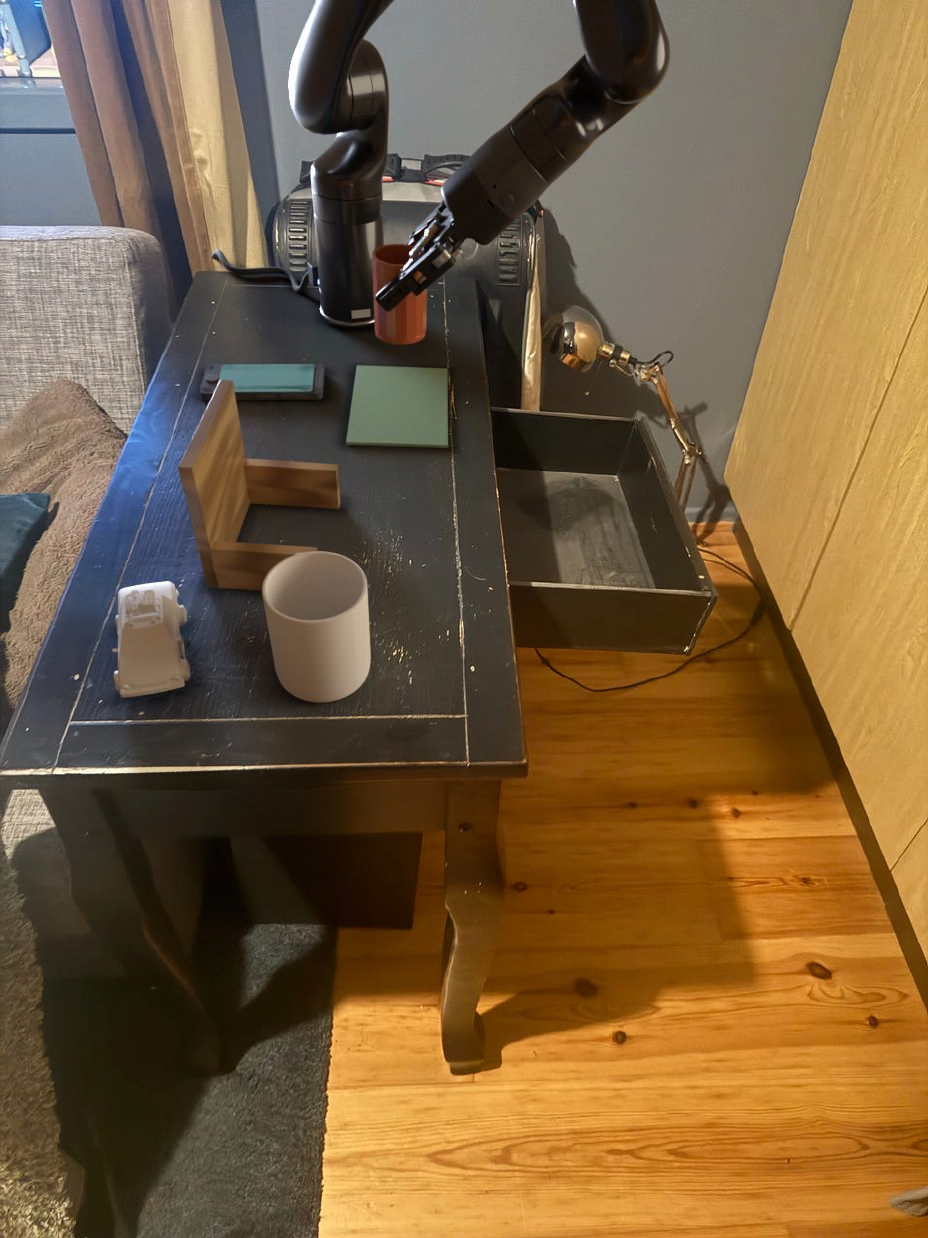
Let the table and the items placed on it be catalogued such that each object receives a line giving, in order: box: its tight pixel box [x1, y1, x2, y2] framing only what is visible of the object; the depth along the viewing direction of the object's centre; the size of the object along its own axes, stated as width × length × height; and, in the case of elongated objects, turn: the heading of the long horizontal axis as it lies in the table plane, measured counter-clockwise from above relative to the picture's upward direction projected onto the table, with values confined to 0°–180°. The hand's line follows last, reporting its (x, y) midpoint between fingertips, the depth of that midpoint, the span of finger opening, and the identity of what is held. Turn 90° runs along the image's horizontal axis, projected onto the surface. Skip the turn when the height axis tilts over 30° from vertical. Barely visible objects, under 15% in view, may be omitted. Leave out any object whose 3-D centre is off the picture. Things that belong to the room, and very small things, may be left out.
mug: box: [261, 550, 372, 704], centre depth 70 cm, size 12×8×10 cm
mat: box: [345, 364, 449, 449], centre depth 103 cm, size 18×12×1 cm, turn 1°
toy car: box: [111, 580, 191, 698], centre depth 70 cm, size 6×12×7 cm, turn 16°
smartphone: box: [199, 363, 325, 401], centre depth 104 cm, size 7×1×15 cm
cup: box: [372, 243, 428, 346], centre depth 93 cm, size 6×6×9 cm
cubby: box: [178, 380, 341, 592], centre depth 79 cm, size 11×14×14 cm
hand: (384, 290), depth 93 cm, fingers closed on cup, 6 cm apart
